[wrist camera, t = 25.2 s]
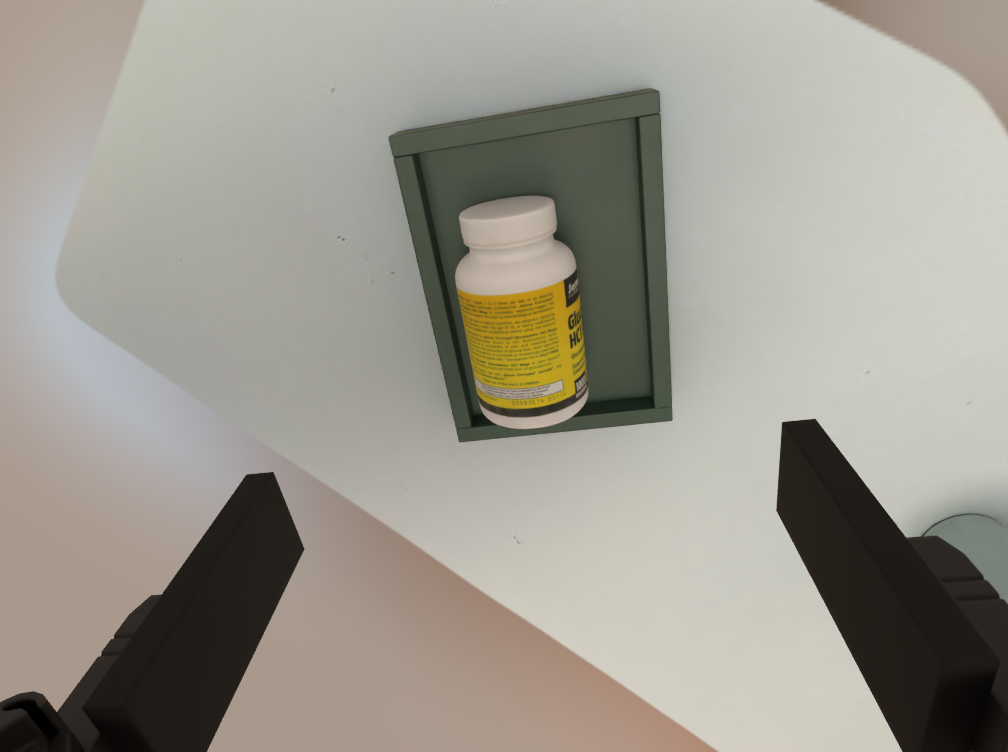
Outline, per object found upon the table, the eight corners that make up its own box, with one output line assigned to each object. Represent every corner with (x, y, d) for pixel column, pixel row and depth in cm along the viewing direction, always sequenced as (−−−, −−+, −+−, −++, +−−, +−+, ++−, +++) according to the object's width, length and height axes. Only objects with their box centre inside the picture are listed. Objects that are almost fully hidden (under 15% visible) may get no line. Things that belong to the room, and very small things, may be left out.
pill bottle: (603, 420, 31) (584, 207, 26) (486, 443, 31) (444, 232, 26) (576, 369, 37) (556, 184, 32) (476, 388, 37) (440, 205, 32)
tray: (398, 131, 31) (387, 136, 29) (651, 88, 30) (659, 90, 28) (463, 423, 40) (459, 442, 38) (665, 401, 38) (672, 421, 36)
